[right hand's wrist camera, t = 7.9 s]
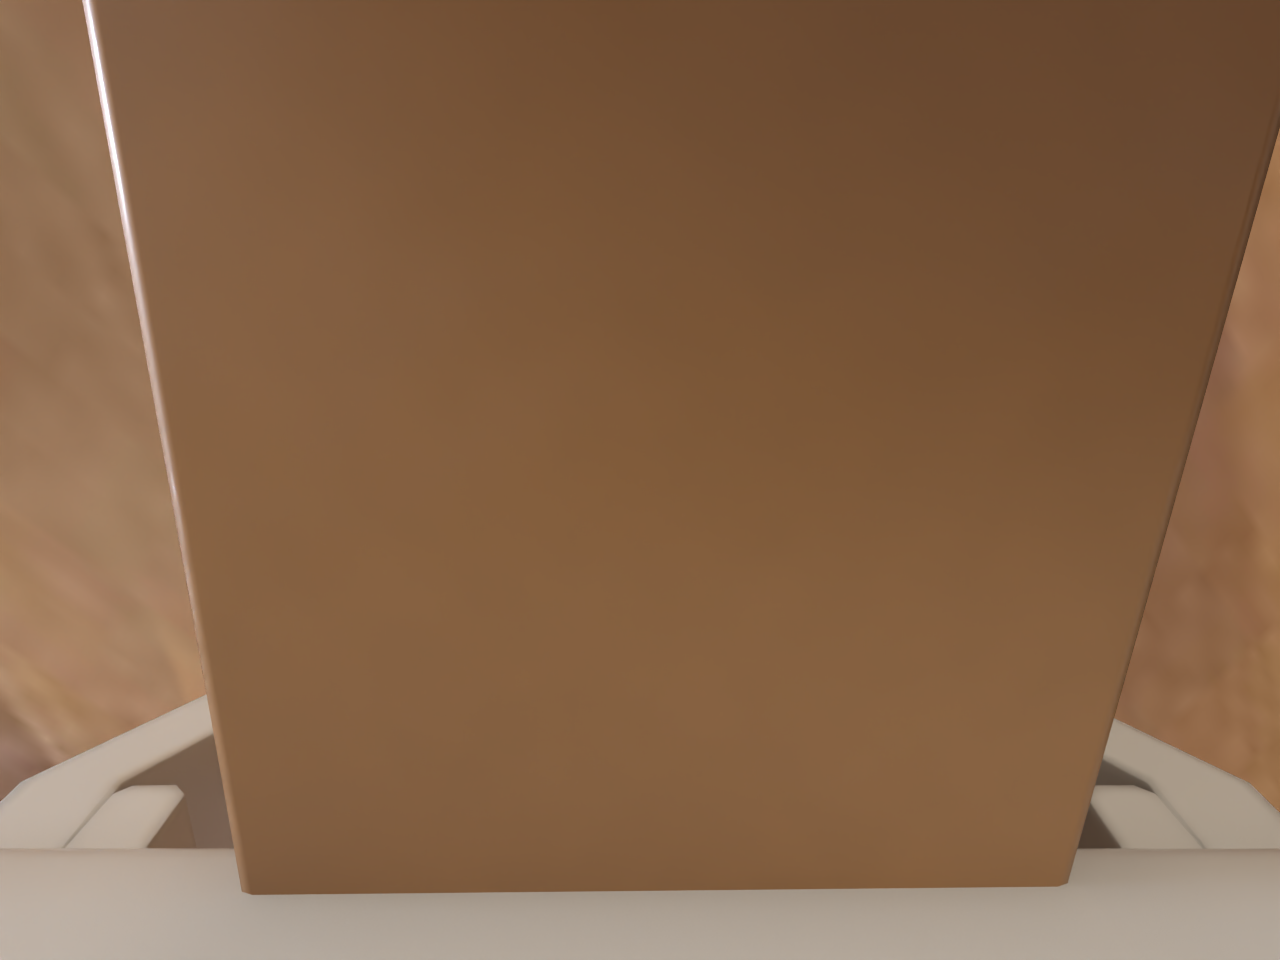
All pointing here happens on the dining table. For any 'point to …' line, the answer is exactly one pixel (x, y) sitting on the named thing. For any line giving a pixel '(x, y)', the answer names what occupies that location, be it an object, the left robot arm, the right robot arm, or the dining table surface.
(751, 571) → the post
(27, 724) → the dining table surface
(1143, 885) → the right robot arm
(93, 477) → the dining table surface
